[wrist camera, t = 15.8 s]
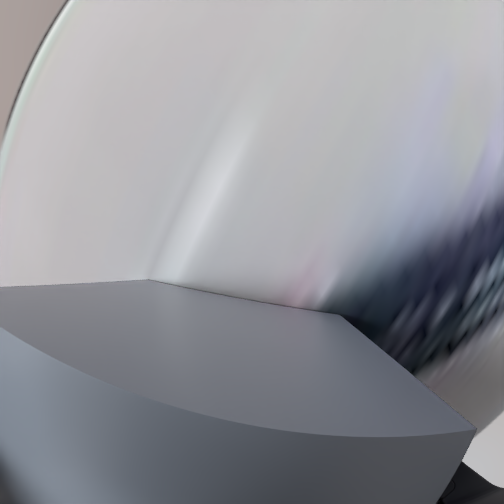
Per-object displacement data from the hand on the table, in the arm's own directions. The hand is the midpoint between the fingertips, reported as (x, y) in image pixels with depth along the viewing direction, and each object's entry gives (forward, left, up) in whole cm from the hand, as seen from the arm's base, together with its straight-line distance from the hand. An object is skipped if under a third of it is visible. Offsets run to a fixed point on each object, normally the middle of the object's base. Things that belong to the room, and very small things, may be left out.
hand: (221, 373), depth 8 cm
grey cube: (-3, 0, -2) cm, 3 cm away
